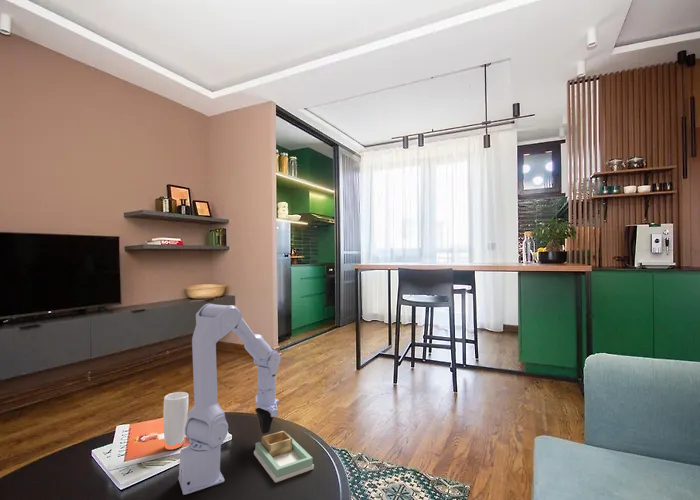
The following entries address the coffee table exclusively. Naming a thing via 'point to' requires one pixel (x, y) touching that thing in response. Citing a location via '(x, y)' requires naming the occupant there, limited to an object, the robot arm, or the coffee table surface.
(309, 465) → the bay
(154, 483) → the coffee table surface
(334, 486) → the coffee table surface
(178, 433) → the drinking glass
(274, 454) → the crate
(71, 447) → the coffee table surface
